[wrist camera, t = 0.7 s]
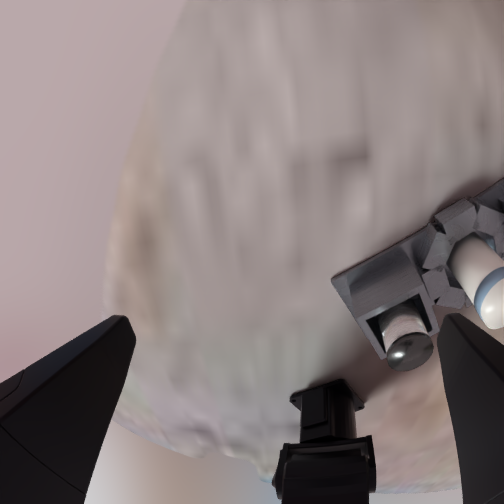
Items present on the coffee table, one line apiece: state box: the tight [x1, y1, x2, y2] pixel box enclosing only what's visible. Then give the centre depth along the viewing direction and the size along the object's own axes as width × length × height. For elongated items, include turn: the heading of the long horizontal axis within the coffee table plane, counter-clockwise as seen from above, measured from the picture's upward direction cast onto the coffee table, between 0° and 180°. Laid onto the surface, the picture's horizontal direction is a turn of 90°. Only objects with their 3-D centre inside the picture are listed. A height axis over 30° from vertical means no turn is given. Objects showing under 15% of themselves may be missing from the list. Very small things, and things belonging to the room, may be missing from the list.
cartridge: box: [446, 231, 504, 329], centre depth 16 cm, size 4×4×7 cm
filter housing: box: [331, 178, 504, 360], centre depth 17 cm, size 8×21×4 cm, turn 127°
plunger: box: [377, 298, 434, 371], centre depth 18 cm, size 3×3×4 cm
